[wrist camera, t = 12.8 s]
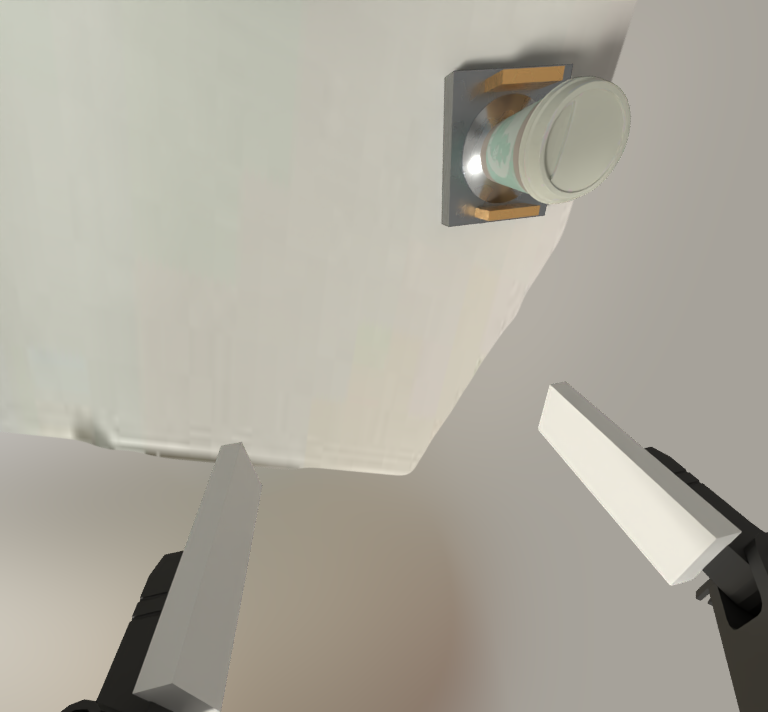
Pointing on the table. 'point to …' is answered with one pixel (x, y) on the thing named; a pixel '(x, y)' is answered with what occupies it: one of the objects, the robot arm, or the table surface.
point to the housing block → (467, 133)
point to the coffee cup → (560, 141)
